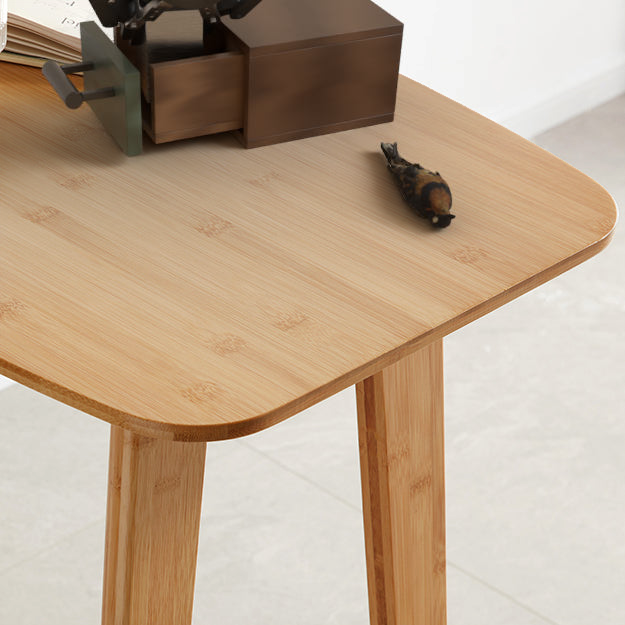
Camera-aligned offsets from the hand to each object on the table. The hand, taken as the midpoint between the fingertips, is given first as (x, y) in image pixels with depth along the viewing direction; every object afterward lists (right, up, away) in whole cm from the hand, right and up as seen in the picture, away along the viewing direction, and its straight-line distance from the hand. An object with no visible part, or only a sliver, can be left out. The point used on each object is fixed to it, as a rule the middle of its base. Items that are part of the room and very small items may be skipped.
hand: (164, 31), depth 90 cm
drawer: (-1, -7, +2) cm, 7 cm away
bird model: (+19, -13, -3) cm, 24 cm away
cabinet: (+10, -4, +7) cm, 13 cm away
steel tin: (0, -4, +1) cm, 4 cm away
